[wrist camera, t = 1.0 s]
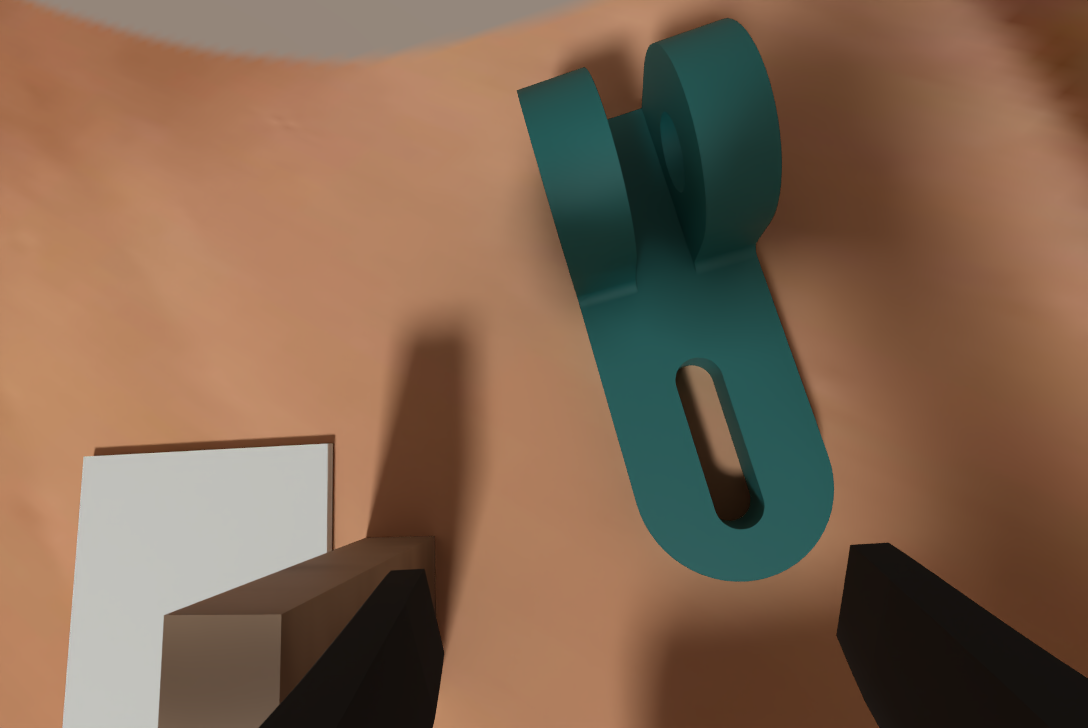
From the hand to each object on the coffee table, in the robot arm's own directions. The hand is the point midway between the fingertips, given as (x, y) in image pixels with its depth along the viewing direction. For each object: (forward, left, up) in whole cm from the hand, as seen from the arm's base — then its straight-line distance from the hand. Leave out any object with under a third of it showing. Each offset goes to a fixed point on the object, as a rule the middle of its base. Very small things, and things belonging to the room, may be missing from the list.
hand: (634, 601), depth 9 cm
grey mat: (-4, +18, -12) cm, 22 cm away
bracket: (+7, -3, -12) cm, 14 cm away
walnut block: (-4, +9, -12) cm, 16 cm away
